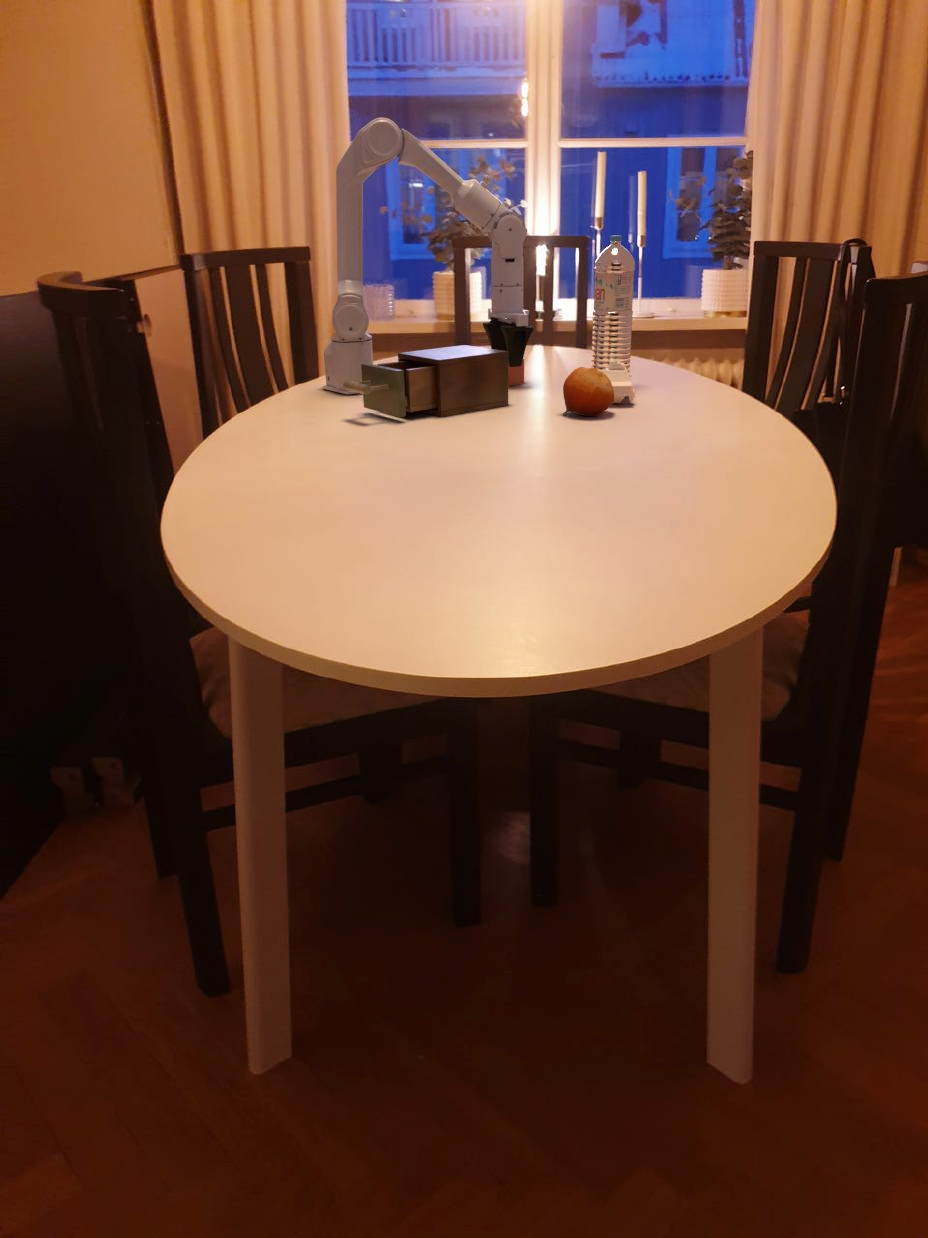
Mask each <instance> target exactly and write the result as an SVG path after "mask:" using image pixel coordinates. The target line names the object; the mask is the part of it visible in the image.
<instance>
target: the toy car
mask: <svg viewBox="0 0 928 1238" xmlns="http://www.w3.org/2000/svg"><path fill="white" fill-rule="evenodd" d="M604 374H605V375H606V376H607V377H608V378H609V379H610V381H611V383H612V387H613V391H614V401H613V403H612V404H621V403H622V400H624V399H625V397H628V399H629V402H630V404H632V403H634V400H635V398H636V389H635V388H634V385H633V384H634V383H632V379H631V378H632V377H633V375H632V374H629V375H628V371H627V369H626V367H625V364H624V363H622V361H621V362H620V361H619V360H618V361H617V359H614V360H610V361H609V365H608V366H607V368H605V371H604Z"/></svg>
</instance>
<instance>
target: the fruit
mask: <svg viewBox="0 0 928 1238" xmlns="http://www.w3.org/2000/svg"><path fill="white" fill-rule="evenodd" d="M562 393H563V400H564V405H565V411H564V412H563V413H562V416H564V415H566V414H568V413H574V414H577V415H580V416H586V417H592V418H594V417H597V416H599V415H601V414H602V413H604V412H605V411H608V409H610V407H611V406H612V404H614V403H613V401H614V391H613V387H612V383H611V381H610V379H609V378H608V377H607V376H606V375H605V374H604V373H602V372H600V371H598V370H597V369H595V368H591V367H584V366H580V367H577V368H575V369H573V370H572V371H571V372H570V374H569V375H568V376H567V377H566V378H565V380H564V382H563V385H562Z"/></svg>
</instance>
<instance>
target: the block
mask: <svg viewBox="0 0 928 1238" xmlns="http://www.w3.org/2000/svg"><path fill="white" fill-rule="evenodd" d="M523 384H525V358H523V362H522V365H521V366H519V367H510V366H509V362H508V387H509V386H517V385H523Z"/></svg>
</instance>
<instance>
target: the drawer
mask: <svg viewBox="0 0 928 1238" xmlns="http://www.w3.org/2000/svg"><path fill="white" fill-rule="evenodd" d="M361 371H362V382H352V381H345V382H344V384H343V387H344V389H346V390H349V391H353V392H357V393H356V394H362V399H363V400H362V401H363V408H364V409H367V410H372V411H375V412H379V413H384V414H387V415H391V416H393V417H394V416H395V417H398V418H402V417H406V416H407V412H409V413H414V412H420V411H421V410H427V409H433V408H438V387H437V365H435V364H429V363H423V362H418V361H412V360H405V361H398V360H397V361H391V362H390V361H389V362H383V363H377V364H374V363H373V364H369V363H365V364H361Z"/></svg>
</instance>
